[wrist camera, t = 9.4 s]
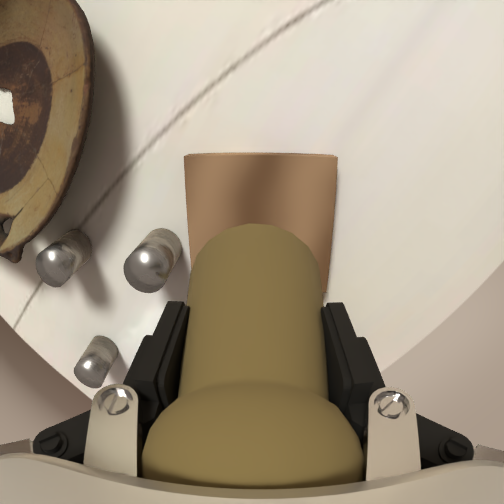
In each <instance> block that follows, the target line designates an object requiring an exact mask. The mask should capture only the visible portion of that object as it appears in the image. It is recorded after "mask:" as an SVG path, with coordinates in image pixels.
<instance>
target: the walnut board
mask: <svg viewBox="0 0 504 504" xmlns="http://www.w3.org/2000/svg"><path fill="white" fill-rule="evenodd" d="M337 161H338V157H336V156H334V155H323V154H299V153H204V154H188V155H186V156H184V169H185V189H186V205H187V220H188V234H189V246H190V258H191V269H192V267H193V264H194V262H195V259H196V256H197V254H198V253H199V252H200V251H201V249H202V248H203V247H204V246H205V244H206V243H207V242H208V241H209V240H210V239H211V238H213V237H215V236H216V235H218V234H220V233H221V232H223V231H224V230H226V229H228V228H232V227H236V226H240V225H245V224H249V223H250V224H265V225H273V226H276V227H278V228H281V229H283V230H286V231H289V232H291V233H293V234H294V235H295V236H296V237H298V238H299V239H300V240H301V241H302V242H304V243H305V244H306V245H307V246H308V247H309V249H310V250H311V252H312V254H313V255H314V257H315V259H316V260H317V262H318V265H319V271H320V276H321V283H322V292H326V290H327V281H328V273H329V264H330V254H331V244H332V233H333V222H334V209H335V195H336V180H337Z"/></svg>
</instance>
